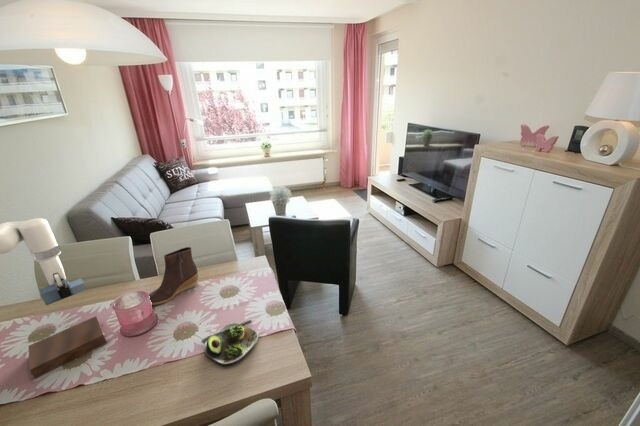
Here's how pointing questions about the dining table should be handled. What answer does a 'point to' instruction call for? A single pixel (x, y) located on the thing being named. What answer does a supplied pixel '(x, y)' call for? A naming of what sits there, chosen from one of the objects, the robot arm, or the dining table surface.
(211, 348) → the salad plate
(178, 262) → the boot
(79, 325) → the brown wooden block
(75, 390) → the dining table surface
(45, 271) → the robot arm
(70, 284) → the stepped blue block
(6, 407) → the dining table surface
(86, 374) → the dining table surface
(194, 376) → the dining table surface
